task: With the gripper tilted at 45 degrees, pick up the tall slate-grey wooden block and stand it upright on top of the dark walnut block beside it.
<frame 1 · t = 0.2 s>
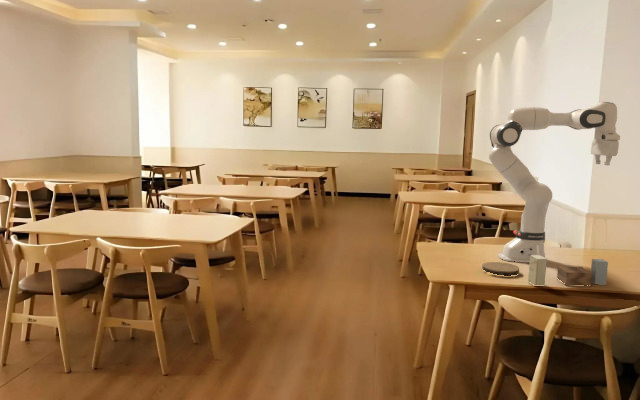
hand: (602, 164, 244), 48 cm above the table, tool pointing down, fingers open, 8 cm apart
skincare box: (536, 285, 210), on the table
walnut block: (573, 283, 214), on the table
grey brown disc: (500, 273, 229), on the table
slate block: (597, 283, 213), on the table
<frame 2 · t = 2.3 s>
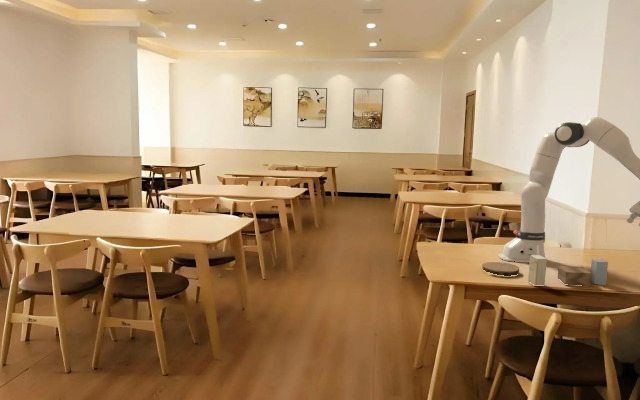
hand: (634, 224, 209), 26 cm above the table, tool tilted 45°, fingers open, 8 cm apart
nothing on the table moved.
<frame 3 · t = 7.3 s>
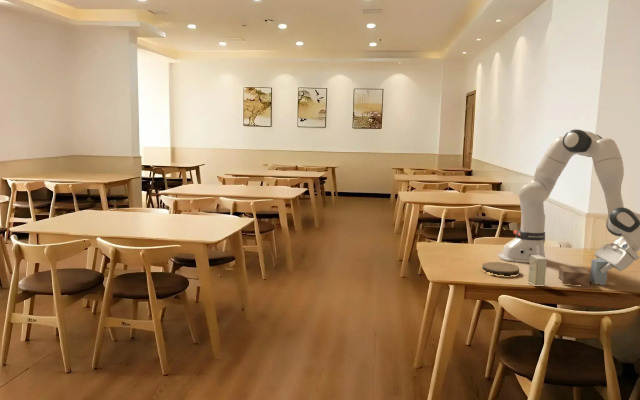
hand: (597, 269, 212), 6 cm above the table, tool tilted 45°, fingers closed on slate block, 4 cm apart
slate block: (597, 283, 213), on the table, touching gripper
everything else where it was.
when the fingers open (13 cm above the table, at t = 13.4 s): slate block drops 2 cm, resting on walnut block.
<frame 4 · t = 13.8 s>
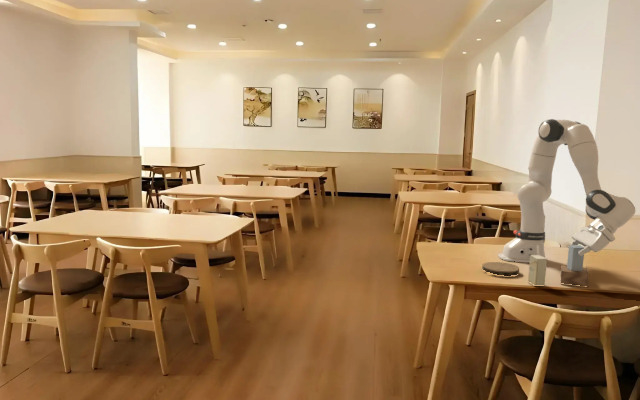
hand: (574, 251, 212), 13 cm above the table, tool tilted 45°, fingers open, 8 cm apart
walnut block: (573, 283, 214), on the table, touching slate block
slate block: (574, 269, 213), point 6 cm above the table, touching walnut block
everything else where it was.
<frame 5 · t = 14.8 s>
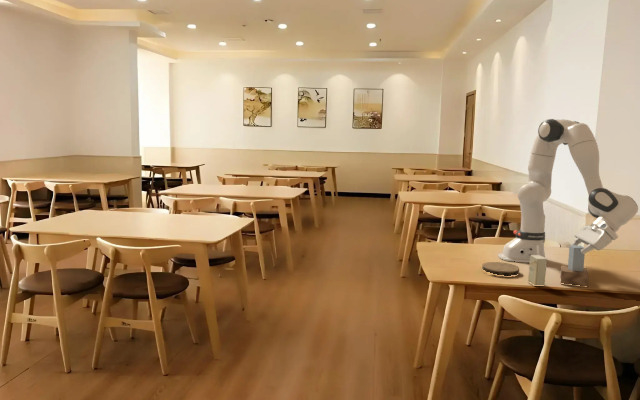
hand: (576, 250, 212), 14 cm above the table, tool tilted 45°, fingers open, 8 cm apart
nothing on the table moved.
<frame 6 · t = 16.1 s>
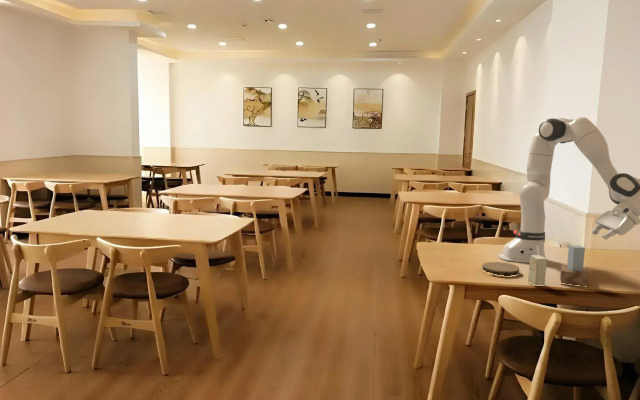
hand: (598, 235, 210), 21 cm above the table, tool tilted 45°, fingers open, 8 cm apart
nothing on the table moved.
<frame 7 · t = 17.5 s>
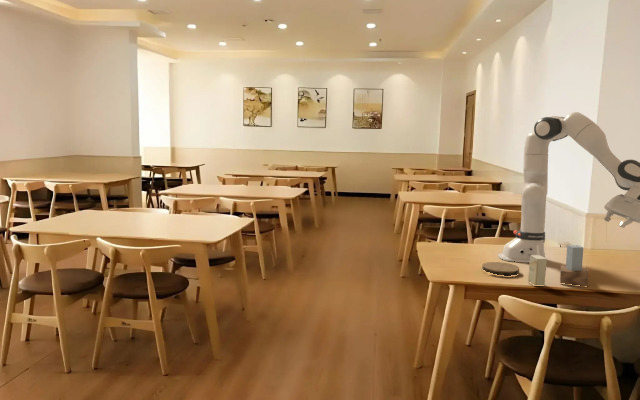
hand: (613, 223, 213), 25 cm above the table, tool tilted 40°, fingers open, 8 cm apart
nothing on the table moved.
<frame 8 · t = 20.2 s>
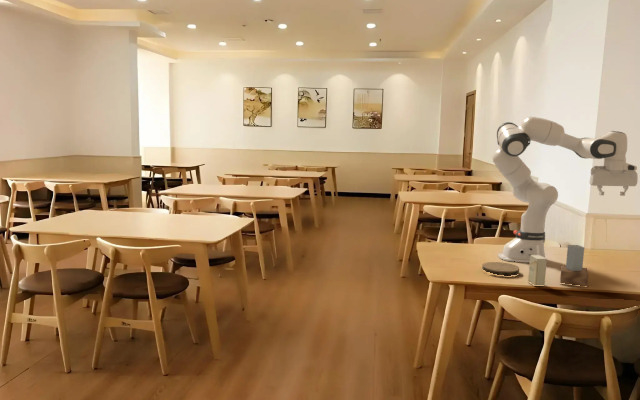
hand: (611, 195, 237), 34 cm above the table, tool pointing down, fingers open, 8 cm apart
walnut block: (573, 283, 214), on the table
slate block: (573, 269, 213), point 6 cm above the table
everything else where it was.
at the end: slate block 0.3 cm off-centre on the walnut block, point 6.1 cm above the walnut block's base; slate block tilted 1°; the gripper is holding nothing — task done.
